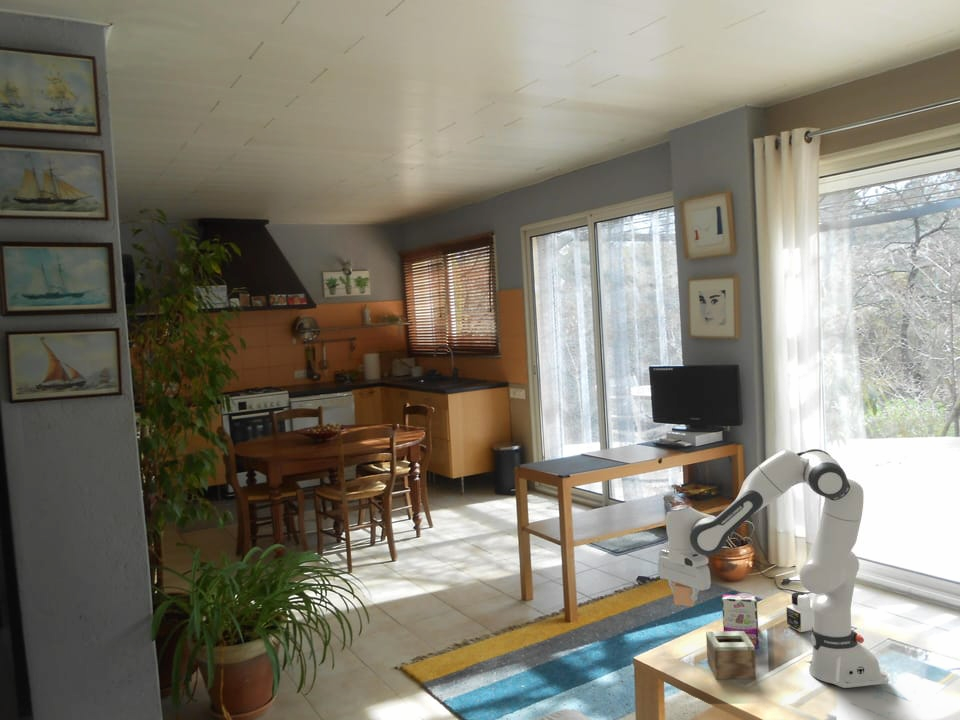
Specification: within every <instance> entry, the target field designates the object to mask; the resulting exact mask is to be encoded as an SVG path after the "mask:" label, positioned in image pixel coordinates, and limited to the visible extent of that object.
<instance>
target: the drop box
mask: <svg viewBox="0 0 960 720" xmlns="http://www.w3.org/2000/svg"><path fill="white" fill-rule="evenodd" d="M705 632H706V633H705V636H706V639H705V640H706V656H707V657H706V658H707V664H708V666H709V668H710V670H711V673H712V675H713V676H714V678H715V680H754V679H755V680H756V679H757V678H756V677H757V676H756V675H757V674H756V673H757V670H756V651H755V649H756V648H755V647H754V645H753V644H752V642H751V641H750V639H749V638H748V636H747V635H746V633H745V632H744V631H724V630H722V631H721V630H720V631H705Z"/></svg>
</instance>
